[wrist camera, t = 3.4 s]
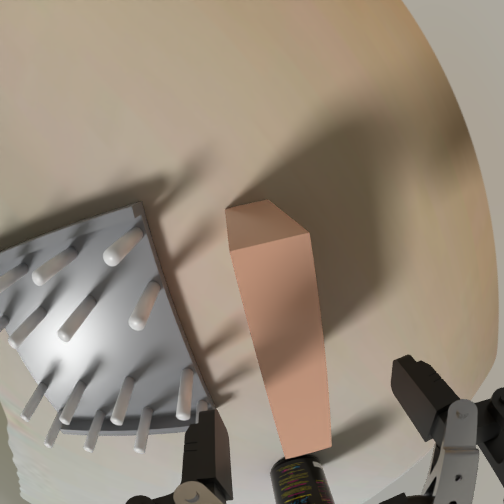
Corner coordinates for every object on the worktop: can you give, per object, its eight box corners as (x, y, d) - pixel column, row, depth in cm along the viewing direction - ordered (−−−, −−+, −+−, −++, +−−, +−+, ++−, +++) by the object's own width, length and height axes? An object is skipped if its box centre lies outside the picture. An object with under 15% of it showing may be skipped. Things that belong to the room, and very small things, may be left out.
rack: (69, 419, 25) (54, 456, 19) (-17, 258, 19) (-56, 282, 13) (216, 408, 25) (217, 457, 20) (141, 201, 19) (112, 216, 14)
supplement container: (257, 470, 30) (269, 536, 20) (298, 447, 29) (319, 518, 19) (291, 480, 32) (306, 539, 22) (329, 459, 31) (352, 520, 21)
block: (297, 358, 25) (331, 446, 15) (264, 367, 25) (285, 459, 15) (267, 199, 20) (309, 232, 11) (224, 208, 20) (229, 251, 11)
